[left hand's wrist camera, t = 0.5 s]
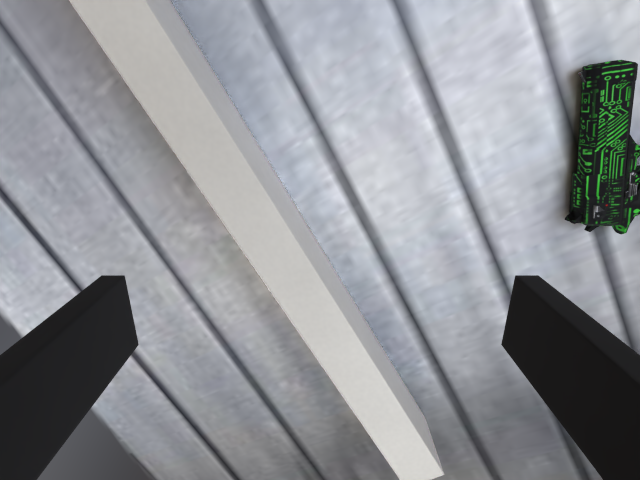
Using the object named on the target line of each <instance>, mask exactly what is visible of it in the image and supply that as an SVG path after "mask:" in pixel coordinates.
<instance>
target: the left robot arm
mask: <svg viewBox="0 0 640 480" xmlns="http://www.w3.org/2000/svg"><path fill="white" fill-rule="evenodd" d="M137 346H138V340H137V335H136V330H135V325H134V320H133V315H132V310H131V305H130V300H129V295H128V290H127V285H126V280H125V276H101V277H99V278H98V279H97V280H96V281H94V282H93V283H92V284H90V285H89V286H88V287H87V288H85V289H84V290H83V291H82V292H80V293H79V294H78V295H76V296H75V297H74V298H73V299H71V300H70V301H69V302H68V303H66V304H65V305H64V306H62V307H61V308H60V309H59V310H57V311H56V312H55V313H54V314H52V315H51V316H50V317H48V318H47V319H46V320H45V321H43V322H42V323H41V324H40V325H38V326H37V327H36V328H34V329H33V330H32V331H31V332H29V333H28V334H27V335H26V336H24V337H23V338H22V339H20V340H19V341H18V342H17V343H15V344H14V345H13V346H12V347H10V348H9V349H8V350H6V351H5V352H4V353H3V354H1V355H0V480H37V478H38V477H39V476H40V474H41V473H42V472H43V471H44V469H45V468H46V467H47V465H48V464H49V463H50V461H51V460H52V459H53V457H54V456H55V454H56V453H57V452H58V451H59V449H60V448H61V447H62V445H63V444H64V443H65V441H66V440H67V439H68V437H69V436H70V435H71V433H72V432H73V431H74V429H75V428H76V427H77V425H78V424H79V423H80V421H81V420H82V419H83V418H84V416H85V415H86V413H87V412H88V411H89V410H90V408H91V407H92V406H93V404H94V403H95V402H96V400H97V399H98V398H99V396H100V395H101V394H102V392H103V391H104V390H105V388H106V387H107V386H108V384H109V383H110V382H111V380H112V379H113V378H114V376H115V375H116V374H117V372H118V371H119V370H120V368H121V367H122V366H123V365H124V363H125V362H126V361H127V359H128V358H129V357H130V355H131V354H132V353H133V351H134V350H135V349H136V347H137ZM502 346H503V347H504V349H505V350H506V351H507V353H508V354H509V355H510V357H511V358H512V359H513V361H514V362H515V363H516V365H517V366H518V367H519V369H520V370H521V371H522V372H523V374H524V375H525V376H526V378H527V379H528V380H529V382H530V383H531V384H532V386H533V387H534V388H535V390H536V391H537V392H538V394H539V395H540V396H541V398H542V399H543V400H544V402H545V403H546V404H547V406H548V407H549V408H550V410H551V411H552V412H553V414H554V415H555V416H556V418H557V419H558V420H559V421H560V423H561V424H562V425H563V427H564V428H565V429H566V431H567V432H568V433H569V435H570V436H571V437H572V439H573V440H574V441H575V443H576V444H577V445H578V447H579V448H580V449H581V451H582V452H583V453H584V455H585V456H586V457H587V459H588V460H589V461H590V463H591V464H592V465H593V467H594V468H595V469H596V471H597V472H598V473H599V474H600V476H601V477H602V478H603V480H640V355H639V354H637V353H636V352H635V351H634V350H632V349H631V348H630V347H628V346H627V345H626V344H625V343H623V342H622V341H621V340H620V339H618V338H617V337H616V336H614V335H613V334H612V333H611V332H609V331H608V330H607V329H606V328H604V327H603V326H602V325H600V324H599V323H598V322H597V321H595V320H594V319H593V318H592V317H590V316H589V315H588V314H586V313H585V312H584V311H583V310H581V309H580V308H579V307H578V306H576V305H575V304H574V303H572V302H571V301H570V300H569V299H567V298H566V297H565V296H564V295H562V294H561V293H560V292H558V291H557V290H556V289H555V288H553V287H552V286H551V285H550V284H548V283H547V282H546V281H544V280H543V279H542V278H541V277H539V276H515V280H514V285H513V290H512V295H511V300H510V305H509V310H508V315H507V320H506V325H505V330H504V335H503V340H502Z"/></svg>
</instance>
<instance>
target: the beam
mask: <svg viewBox="0 0 640 480" xmlns="http://www.w3.org/2000/svg"><path fill="white" fill-rule="evenodd" d="M69 2H70V3H71V4H72V6H73V7H74V9H75V10H76V12H77V13H78V15H79V16H80V17H81V19H82V20H83V22H84V23H85V25H86V26H87V28H88V29H89V30H90V32H91V33H92V35H93V36H94V38H95V39H96V41H97V42H98V43H99V45H100V46H101V48H102V49H103V51H104V52H105V54H106V55H107V57H108V58H109V59H110V61H111V62H112V64H113V65H114V67H115V68H116V70H117V71H118V72H119V74H120V75H121V77H122V78H123V80H124V81H125V83H126V84H127V85H128V87H129V88H130V90H131V91H132V93H133V94H134V96H135V97H136V98H137V100H138V101H139V103H140V104H141V106H142V107H143V109H144V110H145V111H146V113H147V114H148V116H149V117H150V119H151V120H152V122H153V123H154V124H155V126H156V127H157V129H158V130H159V132H160V133H161V135H162V136H163V137H164V139H165V140H166V142H167V143H168V145H169V146H170V148H171V149H172V151H173V152H174V153H175V155H176V156H177V158H178V159H179V161H180V162H181V164H182V165H183V166H184V168H185V169H186V171H187V172H188V174H189V175H190V177H191V178H192V179H193V181H194V182H195V184H196V185H197V187H198V188H199V190H200V191H201V192H202V194H203V195H204V197H205V198H206V200H207V201H208V203H209V204H210V205H211V207H212V208H213V210H214V211H215V213H216V214H217V216H218V217H219V218H220V220H221V221H222V223H223V224H224V226H225V227H226V229H227V230H228V232H229V233H230V234H231V236H232V237H233V239H234V240H235V242H236V243H237V245H238V246H239V247H240V249H241V250H242V252H243V253H244V255H245V256H246V258H247V259H248V260H249V262H250V263H251V265H252V266H253V268H254V269H255V271H256V272H257V273H258V275H259V276H260V278H261V279H262V281H263V282H264V284H265V285H266V286H267V288H268V289H269V291H270V292H271V294H272V295H273V297H274V298H275V299H276V301H277V302H278V304H279V305H280V307H281V308H282V310H283V311H284V312H285V314H286V315H287V317H288V318H289V320H290V321H291V323H292V324H293V326H294V327H295V328H296V330H297V331H298V333H299V334H300V336H301V337H302V339H303V340H304V341H305V343H306V344H307V346H308V347H309V349H310V350H311V352H312V353H313V354H314V356H315V357H316V359H317V360H318V362H319V363H320V365H321V366H322V367H323V369H324V370H325V372H326V373H327V375H328V376H329V378H330V379H331V380H332V382H333V383H334V385H335V386H336V388H337V389H338V391H339V392H340V393H341V395H342V396H343V398H344V399H345V401H346V402H347V404H348V405H349V407H350V408H351V409H352V411H353V412H354V414H355V415H356V417H357V418H358V420H359V421H360V422H361V424H362V425H363V427H364V428H365V430H366V431H367V433H368V434H369V435H370V437H371V438H372V440H373V441H374V443H375V444H376V446H377V447H378V448H379V450H380V451H381V453H382V454H383V456H384V457H385V459H386V460H387V461H388V463H389V464H390V466H391V467H392V469H393V470H394V472H395V473H396V474H397V476H398V477H399V479H400V480H431V479H434V478H436V477H439V476H441V475H444V472H443V469H442V466H441V463H440V460H439V457H438V454H437V451H436V449H435V446H434V443H433V440H432V437H431V434H430V431H429V428H428V425H427V422H426V419H425V417H424V415H423V413H422V412H421V410H420V408H419V407H418V405H417V403H416V402H415V400H414V399H413V397H412V395H411V394H410V392H409V390H408V389H407V387H406V385H405V384H404V382H403V381H402V379H401V377H400V376H399V374H398V372H397V371H396V369H395V367H394V366H393V364H392V363H391V361H390V359H389V358H388V356H387V354H386V353H385V351H384V349H383V348H382V346H381V345H380V343H379V341H378V340H377V338H376V336H375V335H374V333H373V331H372V330H371V328H370V327H369V325H368V323H367V322H366V320H365V318H364V317H363V315H362V313H361V312H360V310H359V309H358V307H357V305H356V304H355V302H354V300H353V299H352V297H351V295H350V294H349V292H348V291H347V289H346V287H345V286H344V284H343V282H342V281H341V279H340V277H339V276H338V274H337V273H336V271H335V269H334V268H333V266H332V264H331V263H330V261H329V259H328V258H327V256H326V255H325V253H324V251H323V250H322V248H321V246H320V245H319V243H318V241H317V240H316V238H315V237H314V235H313V233H312V232H311V230H310V228H309V227H308V225H307V223H306V222H305V220H304V219H303V217H302V215H301V214H300V212H299V210H298V209H297V207H296V205H295V204H294V202H293V201H292V199H291V197H290V196H289V194H288V192H287V191H286V189H285V187H284V186H283V184H282V183H281V181H280V179H279V178H278V176H277V174H276V173H275V171H274V169H273V168H272V166H271V165H270V163H269V161H268V160H267V158H266V156H265V155H264V153H263V151H262V150H261V148H260V146H259V145H258V143H257V142H256V140H255V138H254V137H253V135H252V133H251V132H250V130H249V128H248V127H247V125H246V124H245V122H244V120H243V119H242V117H241V115H240V114H239V112H238V110H237V109H236V107H235V106H234V104H233V102H232V101H231V99H230V97H229V96H228V94H227V92H226V91H225V89H224V88H223V86H222V84H221V83H220V81H219V79H218V78H217V76H216V74H215V73H214V71H213V70H212V68H211V66H210V65H209V63H208V61H207V60H206V58H205V56H204V55H203V53H202V52H201V50H200V48H199V47H198V45H197V43H196V42H195V40H194V38H193V37H192V35H191V34H190V32H189V30H188V29H187V27H186V25H185V24H184V22H183V20H182V19H181V17H180V16H179V14H178V12H177V11H176V9H175V7H174V6H173V4H172V2H171V1H170V0H69Z"/></svg>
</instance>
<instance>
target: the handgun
mask: <svg viewBox="0 0 640 480" xmlns="http://www.w3.org/2000/svg"><path fill="white" fill-rule="evenodd" d="M637 67H638V64H637V63H636V62H630V61H624V60H617V61H610V62H604V63H598V64H592V65H588V66H584V67H583V71H582V72H579V73H578V74H579V76H580V77H581V79H582V97H581V113H580V129H579V145H578V166H577V172H573V180H572V192H571V193H570V213H569V214H568V215H567V216H566V217H565V220H567V221H570V222H571V223H574V224H575V223H582V224H584V225H587V226H586V228H585V229H584V230H586V231H589V232H591V231H592V230H594V229H595V228H596V227H598V226H612V227H613V229H614V230H615V232H617V233H619V234H624V233H626V232H627V230H628V227H629V225H630V223H631V222H632V220H633V219H634V217H635V216H637V215H639V214H640V165H639V166H636V161H637V158H638V157H639V156H640V146H639V145H637V144H636V143H635V142H634V140H633V139H632V137H631V136H630V126H631V117H632V108H633V99H634V90H635V81H636V78H637Z"/></svg>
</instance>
